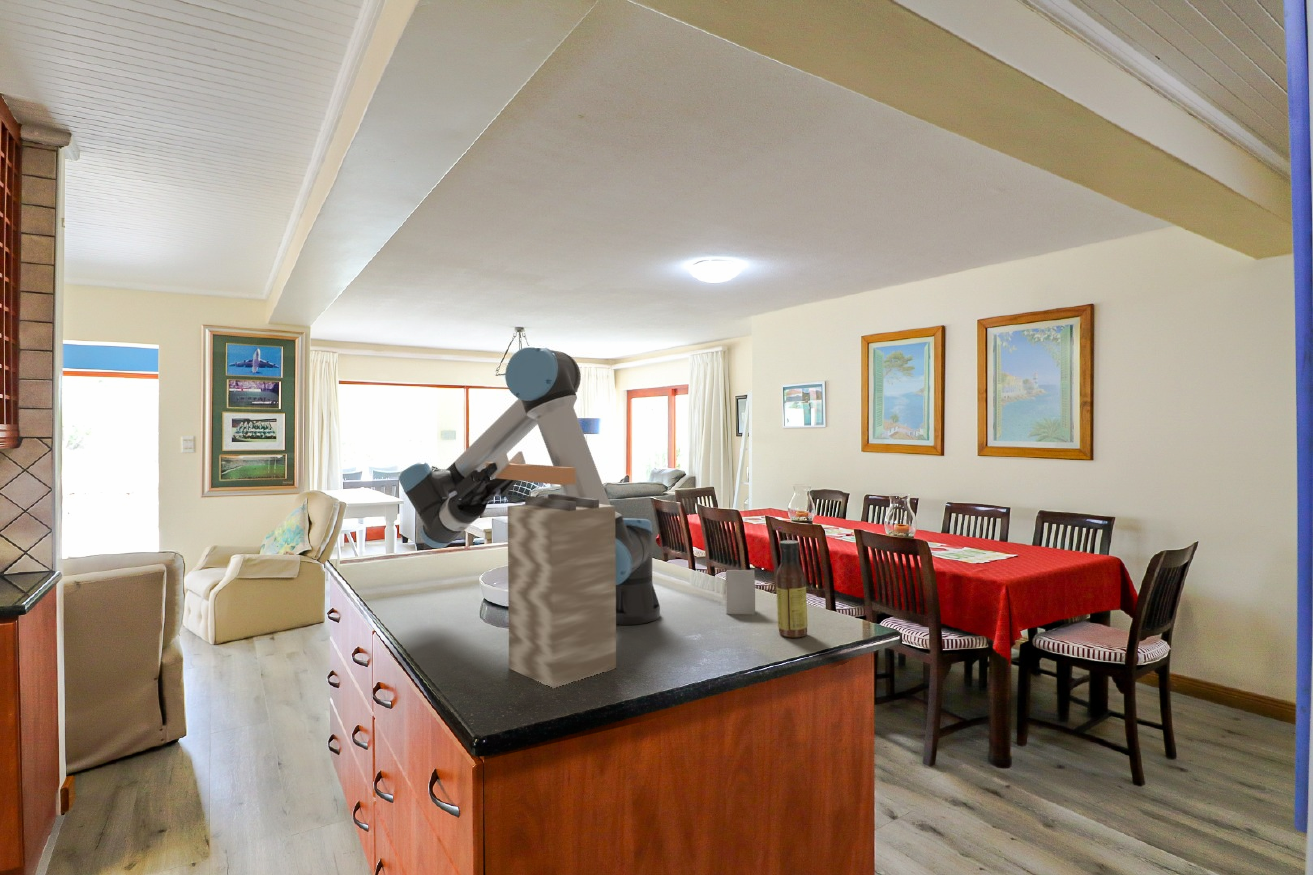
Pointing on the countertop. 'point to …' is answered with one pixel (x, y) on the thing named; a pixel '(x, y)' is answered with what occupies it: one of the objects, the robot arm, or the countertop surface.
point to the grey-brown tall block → (561, 588)
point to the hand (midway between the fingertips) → (514, 457)
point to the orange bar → (538, 473)
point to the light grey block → (740, 592)
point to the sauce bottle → (791, 592)
